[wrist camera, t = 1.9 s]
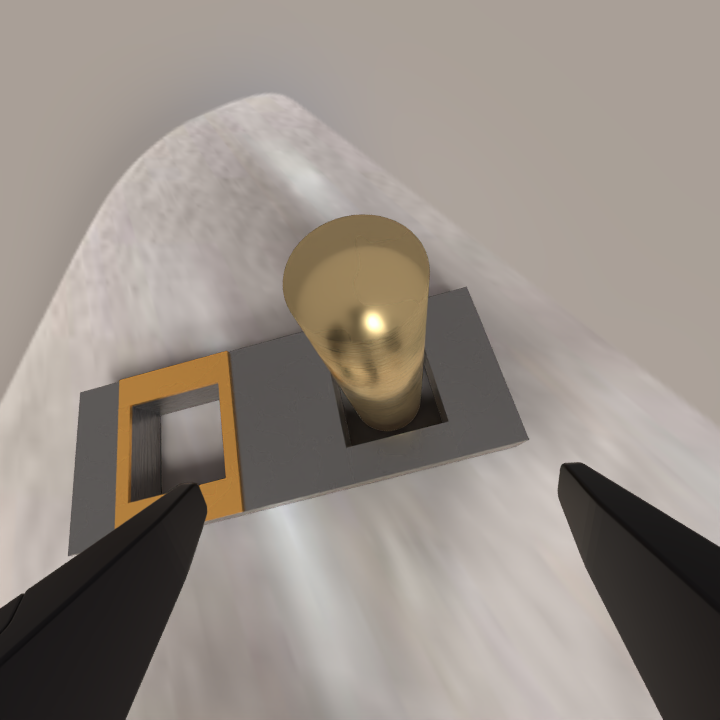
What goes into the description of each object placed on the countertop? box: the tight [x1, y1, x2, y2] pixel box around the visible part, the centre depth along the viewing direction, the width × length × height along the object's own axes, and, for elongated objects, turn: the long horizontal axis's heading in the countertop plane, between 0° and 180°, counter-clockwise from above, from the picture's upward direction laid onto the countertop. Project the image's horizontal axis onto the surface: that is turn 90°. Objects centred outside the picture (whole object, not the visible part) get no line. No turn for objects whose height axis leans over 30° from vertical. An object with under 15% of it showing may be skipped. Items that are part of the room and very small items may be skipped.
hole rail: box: [68, 287, 529, 556], centre depth 21 cm, size 24×9×3 cm, turn 103°
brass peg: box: [283, 215, 430, 431], centre depth 16 cm, size 4×4×13 cm
